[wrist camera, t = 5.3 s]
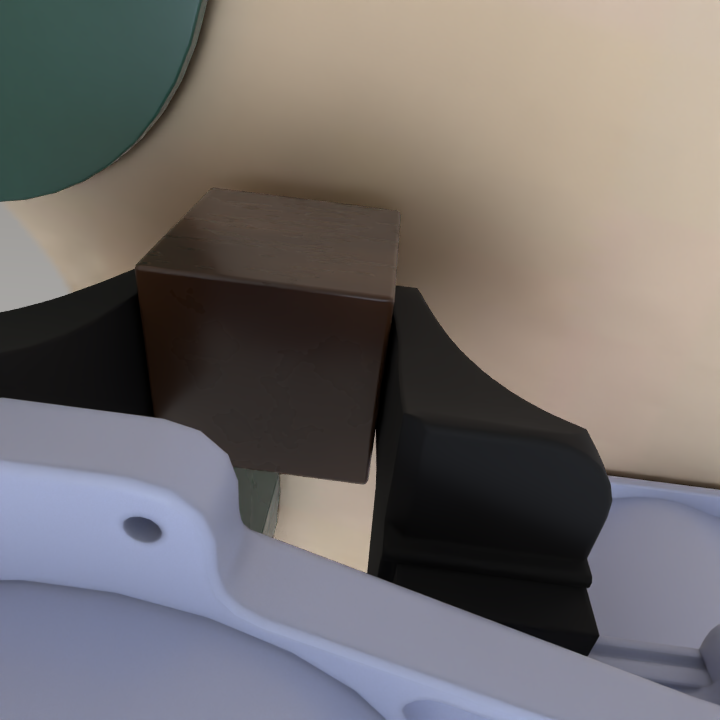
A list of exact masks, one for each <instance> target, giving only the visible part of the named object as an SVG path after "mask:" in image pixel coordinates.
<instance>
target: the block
mask: <svg viewBox="0 0 720 720" xmlns="http://www.w3.org/2000/svg"><path fill="white" fill-rule="evenodd" d="M400 221H401V214H400V212H399V211H397V210H389V209H381V208H373V207H364V206H356V205H348V204H340V203H332V202H324V201H316V200H308V199H300V198H292V197H284V196H276V195H268V194H260V193H252V192H244V191H236V190H228V189H220V188H211V189H210V190H209V191H208V192H207V193H206V194H205V195H204V196H203V197H202V198H201V199H200V200H199V201H198V202H197V203H196V204H195V205H194V206H193V207H192V208H191V209H190V210H189V211H188V212H187V213H186V214H185V215H184V216H183V218H182V219H181V220H180V221H179V222H178V223H177V224H176V225H175V226H174V227H173V228H172V229H171V230H170V231H169V232H168V233H167V234H166V235H165V236H164V237H163V238H162V239H161V240H160V241H159V242H158V243H157V244H156V245H155V246H154V247H153V248H152V249H151V250H150V251H149V252H148V253H147V254H146V255H145V256H144V257H143V258H142V259H141V260H140V261H139V262H138V263H137V264H136V266H135V275H136V283H137V291H138V298H139V306H140V314H141V321H142V329H143V337H144V344H145V352H146V360H147V368H148V375H149V383H150V391H151V398H152V406H153V414H154V418H162V419H166V420H169V421H172V422H175V423H178V424H181V425H184V426H187V427H190V428H193V429H196V430H199V431H201V432H202V433H203V434H205V435H206V436H207V437H208V438H209V439H210V440H212V441H213V442H214V443H215V444H216V445H217V446H219V447H220V448H221V449H222V450H223V451H225V452H226V453H227V454H228V456H229V458H230V461H231V464H232V466H233V467H235V468H242V469H250V470H258V471H265V472H273V473H280V474H288V475H295V476H303V477H311V478H318V479H326V480H333V481H341V482H348V483H356V484H366V483H367V481H368V477H369V470H370V464H371V457H372V450H373V443H374V437H375V430H376V423H377V416H378V410H379V403H380V396H381V389H382V383H383V376H384V369H385V362H386V356H387V349H388V342H389V335H390V329H391V322H392V315H393V308H394V302H395V288H396V275H397V261H398V248H399V234H400Z"/></svg>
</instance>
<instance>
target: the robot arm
mask: <svg viewBox="0 0 720 720" xmlns="http://www.w3.org/2000/svg"><path fill="white" fill-rule="evenodd" d="M0 720H720V490H717V489H710V488H702V487H694V486H686V485H679V484H671V483H663V482H655V481H648V480H640V479H632V478H624V477H617V476H609V475H607V473H606V470H605V468H604V465H603V462H602V460H601V458H600V455H599V453H598V451H597V449H596V447H595V445H594V443H593V441H592V439H591V438H590V435H589V433H588V431H587V430H586V429H584V428H582V427H579V426H577V425H575V424H573V423H570V422H568V421H566V420H563V419H561V418H559V417H557V416H554V415H552V414H550V413H548V412H546V411H544V410H542V409H540V408H538V407H536V406H535V405H533V404H531V403H529V402H527V401H525V400H524V399H522V398H520V397H519V396H517V395H516V394H514V393H512V392H511V391H509V390H508V389H506V388H505V387H504V386H502V385H501V384H499V383H498V382H497V381H495V380H494V379H492V378H491V377H490V376H489V375H487V374H486V373H485V372H484V371H482V370H481V369H480V368H479V367H478V366H477V365H476V364H475V363H473V362H472V361H471V360H470V359H469V358H468V357H467V356H466V355H465V354H464V353H463V352H462V351H461V350H460V349H459V348H458V347H457V345H456V344H455V343H454V342H453V341H452V340H451V339H450V337H449V336H448V335H447V334H446V332H445V331H444V329H443V328H442V327H441V325H440V324H439V322H438V321H437V320H436V318H435V316H434V315H433V313H432V312H431V310H430V309H429V307H428V305H427V304H426V302H425V300H424V298H423V296H422V295H421V293H420V292H419V290H418V289H417V288H412V287H404V286H396V288H395V302H394V308H393V315H392V322H391V329H390V335H389V342H388V349H387V356H386V362H385V369H384V376H383V383H382V389H381V396H380V403H379V410H378V416H377V423H376V490H375V500H374V510H373V521H372V531H371V541H370V551H369V561H368V570H367V573H364V572H362V571H359V570H356V569H354V568H351V567H349V566H346V565H343V564H341V563H338V562H335V561H333V560H330V559H327V558H325V557H322V556H319V555H317V554H314V553H312V552H309V551H306V550H304V549H301V548H298V547H296V546H293V545H290V544H288V543H285V542H282V541H280V540H277V539H274V538H272V537H269V536H267V535H264V534H261V533H259V532H256V531H253V530H251V529H249V528H248V527H247V526H246V525H244V524H243V522H242V520H241V516H240V511H239V492H238V479H237V477H236V474H235V472H234V469H233V466H232V464H231V461H230V458H229V456H228V454H227V453H226V452H225V451H223V450H222V449H221V448H220V447H219V446H217V445H216V444H215V443H214V442H213V441H212V440H210V439H209V438H208V437H207V436H206V435H205V434H203V433H202V432H201V431H199V430H196V429H193V428H190V427H187V426H184V425H181V424H178V423H175V422H172V421H169V420H166V419H162V418H154V414H153V406H152V398H151V391H150V383H149V375H148V368H147V360H146V352H145V344H144V337H143V329H142V321H141V314H140V306H139V298H138V291H137V283H136V275H135V269H133V270H131V271H128V272H126V273H123V274H121V275H118V276H116V277H113V278H111V279H108V280H106V281H103V282H101V283H98V284H95V285H92V286H90V287H87V288H84V289H81V290H79V291H76V292H73V293H70V294H68V295H65V296H62V297H59V298H55V299H52V300H49V301H45V302H42V303H38V304H34V305H31V306H27V307H23V308H19V309H14V310H10V311H5V312H0Z"/></svg>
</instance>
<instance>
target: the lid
mask: <svg viewBox="0 0 720 720" xmlns="http://www.w3.org/2000/svg"><path fill="white" fill-rule="evenodd" d="M207 1H208V0H0V202H3V201H16V200H26V199H31V198H35V197H39V196H44V195H48V194H52V193H56V192H59V191H61V190H64V189H66V188H69V187H71V186H74V185H76V184H78V183H81V182H83V181H85V180H87V179H89V178H90V177H92V176H93V175H95V174H97V173H98V172H100V171H101V170H103V169H105V168H106V167H108V166H110V165H111V164H113V163H114V162H116V161H118V160H119V159H120V158H121V157H122V156H123V155H124V154H126V153H127V152H128V151H129V150H130V149H131V148H132V147H133V146H135V145H136V144H137V143H138V142H139V141H140V140H141V139H142V138H143V137H144V136H145V135H146V133H147V132H148V131H149V130H150V128H151V127H152V126H153V125H154V124H155V122H156V121H157V120H158V119H159V117H160V116H161V115H162V114H163V112H164V111H165V109H166V107H167V106H168V104H169V102H170V100H171V99H172V97H173V95H174V93H175V92H176V90H177V88H178V86H179V85H180V83H181V81H182V79H183V77H184V74H185V72H186V69H187V67H188V64H189V62H190V59H191V57H192V54H193V52H194V49H195V47H196V44H197V41H198V37H199V33H200V29H201V25H202V21H203V17H204V13H205V9H206V5H207Z"/></svg>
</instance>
